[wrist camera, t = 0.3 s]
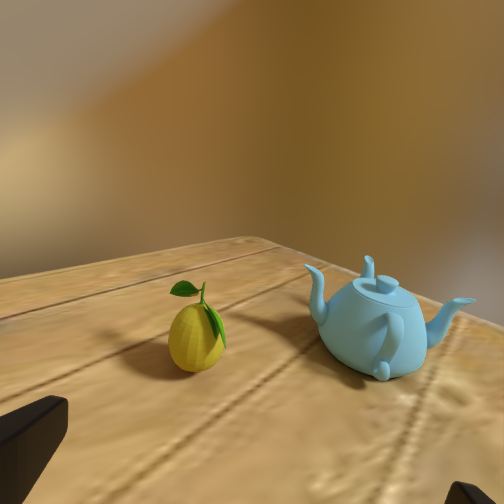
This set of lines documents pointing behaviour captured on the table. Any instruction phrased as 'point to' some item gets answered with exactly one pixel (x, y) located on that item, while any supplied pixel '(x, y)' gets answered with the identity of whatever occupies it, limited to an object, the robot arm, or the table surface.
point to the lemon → (195, 332)
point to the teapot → (377, 324)
